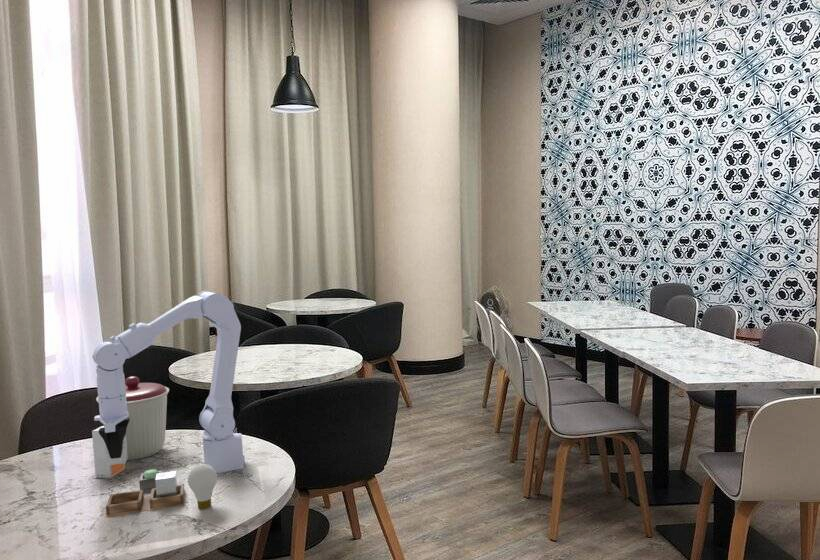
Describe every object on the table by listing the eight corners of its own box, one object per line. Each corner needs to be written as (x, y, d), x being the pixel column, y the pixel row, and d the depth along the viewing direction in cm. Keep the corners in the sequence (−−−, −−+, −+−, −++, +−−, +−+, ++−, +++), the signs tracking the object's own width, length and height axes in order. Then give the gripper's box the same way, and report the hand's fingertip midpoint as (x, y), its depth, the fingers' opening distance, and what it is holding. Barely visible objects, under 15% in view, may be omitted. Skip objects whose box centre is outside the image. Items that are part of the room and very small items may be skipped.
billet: (127, 457, 156) (125, 433, 155) (125, 462, 152) (123, 439, 152) (108, 459, 155) (106, 436, 154) (106, 465, 151) (104, 441, 150)
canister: (125, 442, 192) (119, 369, 190) (185, 442, 190) (179, 368, 188) (86, 465, 175) (79, 385, 173) (152, 466, 172) (145, 384, 170)
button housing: (163, 485, 159) (162, 470, 159) (161, 492, 154) (160, 477, 154) (142, 488, 158) (141, 473, 157) (140, 495, 153) (139, 480, 153)
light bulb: (203, 519, 139) (200, 472, 138) (184, 513, 142) (180, 467, 141) (225, 508, 144) (222, 462, 143) (206, 503, 147) (202, 458, 146)
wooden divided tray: (185, 494, 153) (184, 482, 152) (184, 509, 145) (183, 496, 144) (110, 505, 148) (109, 493, 148) (105, 521, 140) (104, 508, 140)
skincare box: (110, 479, 164) (106, 431, 163) (95, 478, 165) (90, 430, 164) (126, 470, 170) (122, 423, 169) (110, 469, 171) (106, 423, 170)
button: (158, 485, 158) (157, 468, 157) (157, 489, 155) (156, 472, 155) (145, 487, 157) (144, 470, 157) (144, 491, 154) (143, 474, 154)
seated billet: (177, 494, 150) (175, 470, 149) (177, 501, 146) (175, 477, 146) (158, 497, 149) (156, 473, 148) (157, 504, 145) (155, 480, 144)
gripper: (97, 390, 158) (102, 446, 159) (87, 405, 144) (92, 467, 145) (130, 386, 160) (135, 442, 161) (122, 401, 146) (128, 463, 147)
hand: (117, 454), depth 153 cm, fingers closed on billet, 4 cm apart
